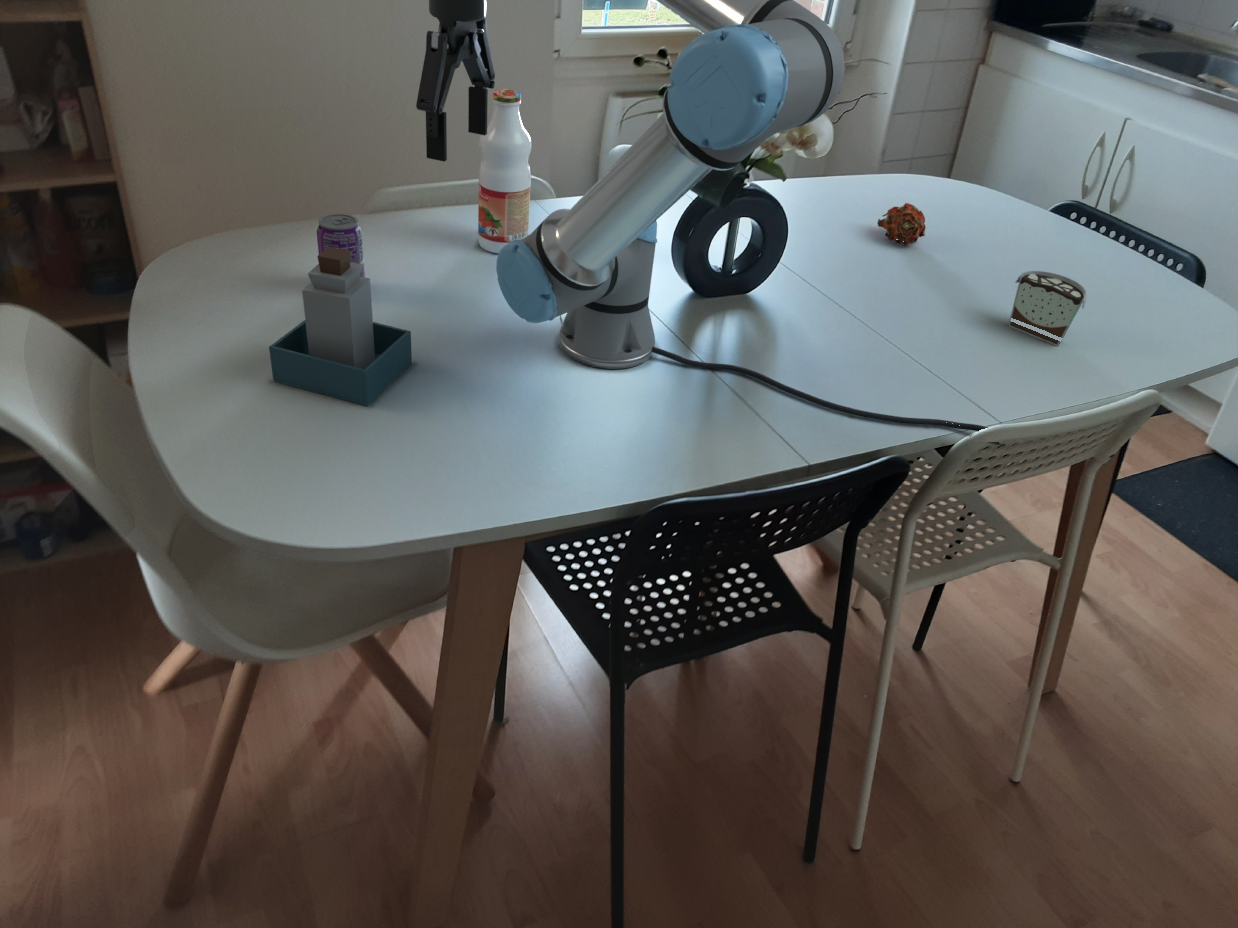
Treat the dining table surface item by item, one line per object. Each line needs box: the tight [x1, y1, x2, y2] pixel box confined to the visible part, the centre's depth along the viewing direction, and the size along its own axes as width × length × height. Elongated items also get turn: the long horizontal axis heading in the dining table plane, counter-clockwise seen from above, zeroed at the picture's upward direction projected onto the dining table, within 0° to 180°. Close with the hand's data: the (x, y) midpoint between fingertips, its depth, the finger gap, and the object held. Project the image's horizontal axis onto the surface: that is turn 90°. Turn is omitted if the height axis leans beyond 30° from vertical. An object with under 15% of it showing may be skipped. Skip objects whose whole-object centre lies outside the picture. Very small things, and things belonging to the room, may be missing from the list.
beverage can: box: [316, 213, 366, 278], centre depth 159 cm, size 7×7×12 cm
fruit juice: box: [477, 88, 532, 254], centre depth 175 cm, size 9×9×28 cm
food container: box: [1007, 270, 1088, 347], centre depth 172 cm, size 12×6×10 cm, turn 47°
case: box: [268, 319, 413, 407], centre depth 140 cm, size 15×13×6 cm
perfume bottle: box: [301, 247, 375, 369], centre depth 136 cm, size 7×7×18 cm
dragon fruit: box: [877, 202, 926, 246], centre depth 202 cm, size 8×8×12 cm
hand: (458, 146), depth 140 cm, fingers open, 13 cm apart
